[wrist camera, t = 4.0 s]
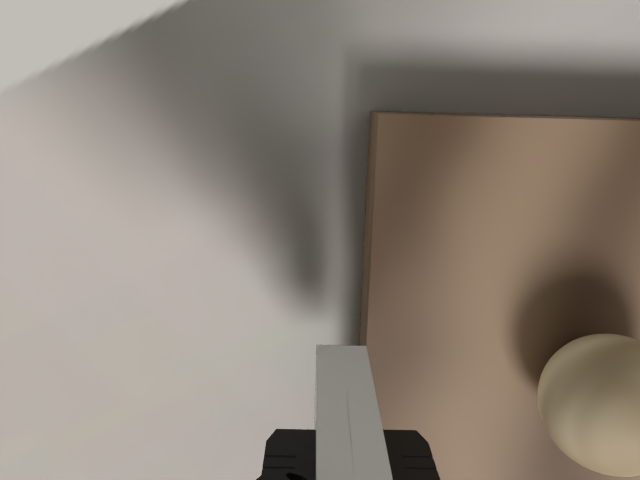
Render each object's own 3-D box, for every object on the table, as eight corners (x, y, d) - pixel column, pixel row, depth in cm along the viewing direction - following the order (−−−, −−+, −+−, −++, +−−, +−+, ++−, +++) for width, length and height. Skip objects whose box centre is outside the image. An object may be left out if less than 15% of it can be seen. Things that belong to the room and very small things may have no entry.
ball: (650, 314, 18) (742, 374, 14) (630, 426, 19) (710, 510, 15) (526, 311, 18) (583, 371, 14) (511, 423, 19) (562, 508, 15)
